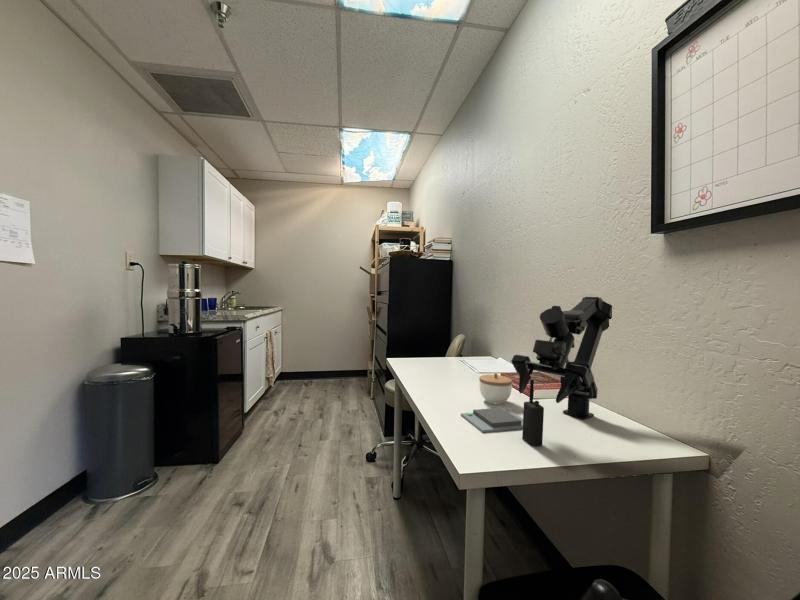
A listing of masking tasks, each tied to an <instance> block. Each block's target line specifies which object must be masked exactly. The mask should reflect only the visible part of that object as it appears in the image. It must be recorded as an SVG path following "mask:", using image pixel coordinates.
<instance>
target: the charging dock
mask: <svg viewBox="0 0 800 600" xmlns="http://www.w3.org/2000/svg"><path fill="white" fill-rule="evenodd" d="M460 416H461V418H463V419H465V421H467V422H469V424H471V425H472V426H473V427H475V428H476V429H477V430H478V431H479V432H481V433H492V432H493V433H494V432H502V431H513V430H514V429H515V430H521V429H522V430H523V417H521V416H519V415H518V414H516V413H514V412H512V411H510V410H509V409H502V407H494V408H481V409H472V412H464V413H463V412H462V413H460Z"/></svg>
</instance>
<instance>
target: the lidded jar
mask: <svg viewBox="0 0 800 600" xmlns="http://www.w3.org/2000/svg"><path fill="white" fill-rule="evenodd" d="M478 379H479V391H480V395H481V397H482V398H483V399H484V401H485V400H486V401H487V403H488V402H490V403H489V404H492V403H496V404H495V405H502V404H501V403H503V404H505V402H506V401H507V400H508V399H510V396H511V394H512V389H513V388H512V387H513V379H512V378H510V377H508V376H505V375H499V374H498V373H497V372H496V373H493V374H482V375H479V377H478ZM486 401H485V402H486Z"/></svg>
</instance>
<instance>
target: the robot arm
mask: <svg viewBox="0 0 800 600" xmlns="http://www.w3.org/2000/svg"><path fill="white" fill-rule="evenodd" d="M612 307H613V305H612V304H610V303H608V302H606V301H604V300H603V298H602V297H599V296H585V297H584V296H583V297H582V298H581V301H580V302H578V303H577V305H575V306H574V307H573V308H572V309H570V310H562V308H561V305H552V306H551V308H547V309H544V311H542V312H541V313H540V315H539V319H540V322H541V324H542V327H543V330H544V332H545V335H547V336H548V337H550V338H549V340H541V339H535V341H534V344H533V349H532V352H533V353H534V354H536V356H535V357H536V358H535V359H536V360H537V361H539V362H534V361H532V360H531V358H530V356H528V355H522V354H515V355H513V356H512V357H511V358H512V359H511V360H510V362H511V363H512V366H513V368H514V369H515V371H516V373H517V374H518V375H519V379H518V381H519V382H518V393H519V394H522V393H523V392H524V391H525V389H526V388H527V386H528V385H529V383H530V380H531V379H532V376H531V375H533V372H534V371H536V372H542V373H546V374H548V375H554V376H559V377H560V388H559V390H558V392H557V394H556V397H555V403H557V404H560V403H561V402H562V401H563V400H564V399H566V398H568V399H567V409H565V410H562V413H563V414H566V415H568V416H571V417H574V418H578V419H581V420H586V419H589V418H591V417H594V416H595V414H594V413H593V412H590V400H593V399H594V400H595V399H596V400H597V399H598V390H599V389H598V386H597V384H596V382H595V376H594V375H593V372H592V366H593V363H594V359H595V356H596V352H597V350H598V347H599V344H600V342H601V337H602V335H603V333H604V332H605V331H607V330H608V329H609V328H610V327H609V319H611V318H612ZM608 327H609V328H608ZM583 332H584V333H583ZM581 334H583V336H582V338H581V342H580V343H579V347H578V350H577V352H576V355H575V359H574V360H573V361H570V360H569V355H570V352H571V350H572V349H574V348H575V336H574V335H581Z"/></svg>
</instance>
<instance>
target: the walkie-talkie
mask: <svg viewBox="0 0 800 600" xmlns="http://www.w3.org/2000/svg"><path fill="white" fill-rule="evenodd" d="M534 382H535V380H534V379H532V378H531V379H530V381H529V400H528V401H524V402H523V411H522V412H523V414H522V415H523V416H522V418H523V429H522V440H523V441H524V442H526V443H527V444H528V445H529V446H531V447H543V439H544V438H543V436H544V434H543V433H544V416H545V414H544V411H545V407H544V406H543V405H541V404H540V401H538V400H535V401H534V385H535V384H534Z"/></svg>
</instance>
